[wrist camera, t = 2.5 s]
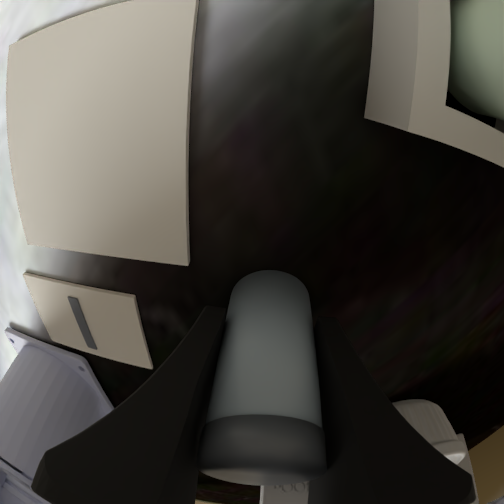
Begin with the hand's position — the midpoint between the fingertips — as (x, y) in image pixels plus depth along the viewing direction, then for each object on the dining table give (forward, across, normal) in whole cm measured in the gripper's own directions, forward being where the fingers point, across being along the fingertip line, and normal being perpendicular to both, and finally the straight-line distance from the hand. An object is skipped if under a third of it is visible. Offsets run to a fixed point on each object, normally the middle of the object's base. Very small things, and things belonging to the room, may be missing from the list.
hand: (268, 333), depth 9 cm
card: (+2, +9, +3) cm, 10 cm away
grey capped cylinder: (+2, 0, 0) cm, 2 cm away
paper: (+2, +7, -6) cm, 9 cm away
